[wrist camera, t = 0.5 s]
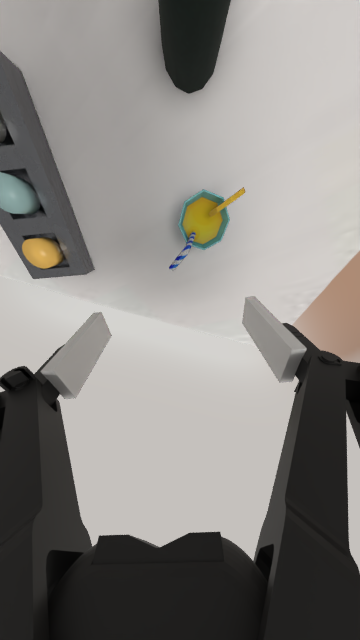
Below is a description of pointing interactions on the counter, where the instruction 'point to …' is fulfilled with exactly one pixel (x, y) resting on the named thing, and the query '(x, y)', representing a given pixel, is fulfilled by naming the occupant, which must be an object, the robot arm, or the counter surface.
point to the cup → (203, 221)
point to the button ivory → (2, 129)
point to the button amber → (43, 252)
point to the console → (36, 181)
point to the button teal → (17, 195)
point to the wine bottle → (191, 39)
